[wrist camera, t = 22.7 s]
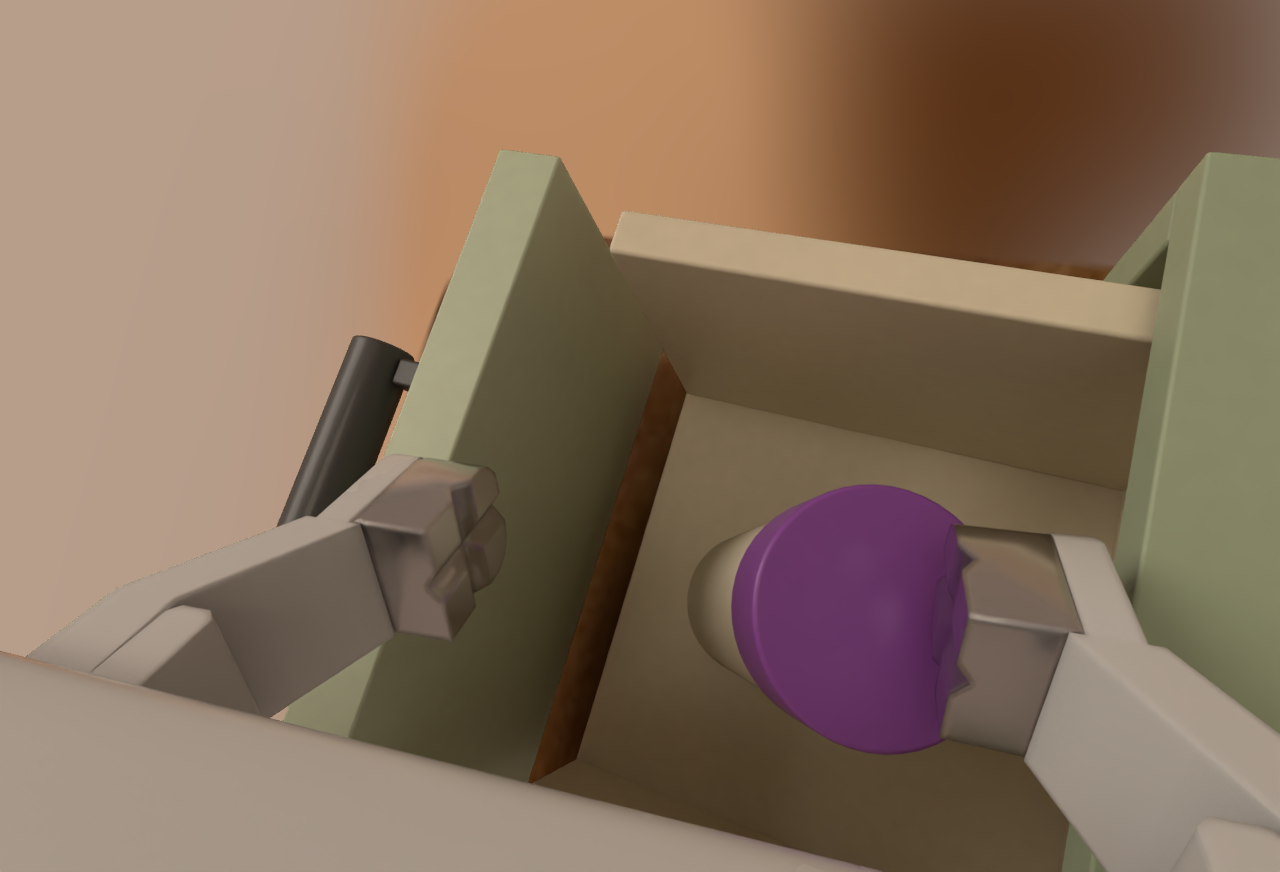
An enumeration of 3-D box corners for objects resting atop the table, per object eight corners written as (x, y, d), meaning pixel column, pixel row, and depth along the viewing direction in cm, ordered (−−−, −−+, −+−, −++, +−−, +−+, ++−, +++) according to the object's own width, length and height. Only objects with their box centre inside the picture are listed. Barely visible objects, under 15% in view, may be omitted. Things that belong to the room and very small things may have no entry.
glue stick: (664, 653, 16) (721, 708, 9) (705, 511, 17) (789, 450, 9) (806, 699, 16) (984, 792, 9) (842, 554, 17) (1032, 527, 9)
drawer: (357, 719, 20) (24, 785, 11) (504, 315, 22) (315, 124, 14) (1055, 1020, 14) (1379, 1545, 6) (1150, 448, 17) (1479, 270, 8)
